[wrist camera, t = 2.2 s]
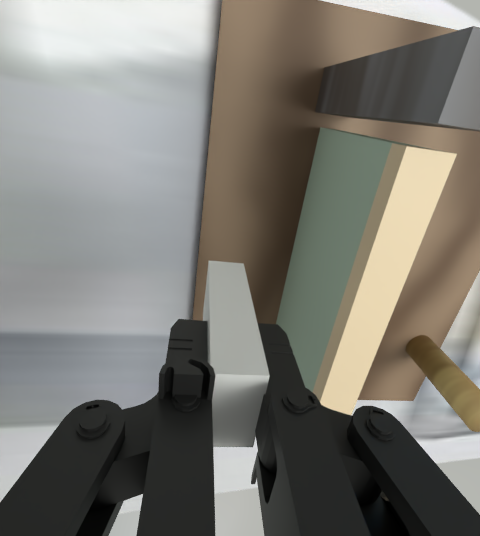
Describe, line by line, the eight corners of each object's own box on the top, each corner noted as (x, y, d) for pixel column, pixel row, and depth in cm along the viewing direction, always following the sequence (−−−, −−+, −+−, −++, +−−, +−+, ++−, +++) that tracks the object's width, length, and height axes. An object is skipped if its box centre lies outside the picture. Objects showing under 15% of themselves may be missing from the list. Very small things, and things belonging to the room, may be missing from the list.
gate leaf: (267, 351, 28) (297, 467, 19) (317, 126, 20) (406, 146, 12) (289, 352, 28) (330, 466, 20) (347, 131, 21) (456, 153, 12)
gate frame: (185, 388, 31) (177, 558, 20) (223, -14, 18) (262, -217, 7) (407, 393, 35) (511, 539, 23) (571, 59, 22) (993, 12, 10)
